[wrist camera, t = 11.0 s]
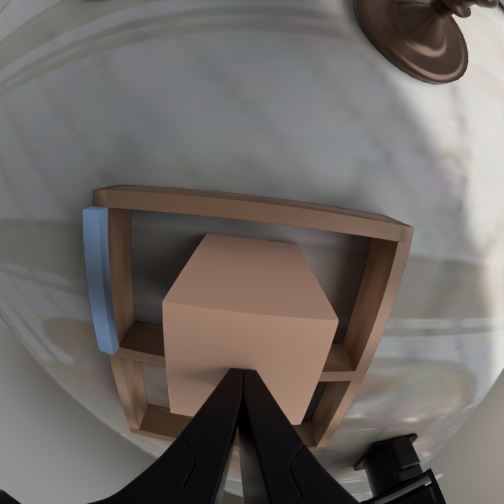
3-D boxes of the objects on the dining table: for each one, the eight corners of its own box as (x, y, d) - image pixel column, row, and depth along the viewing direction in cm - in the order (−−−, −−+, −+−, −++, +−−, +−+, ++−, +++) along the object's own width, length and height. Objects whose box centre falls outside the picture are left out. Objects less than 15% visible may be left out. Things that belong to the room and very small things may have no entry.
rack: (317, 425, 20) (324, 458, 16) (140, 407, 19) (127, 438, 16) (388, 216, 14) (423, 232, 11) (118, 184, 14) (82, 191, 10)
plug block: (282, 321, 16) (300, 424, 9) (201, 312, 16) (170, 412, 9) (297, 244, 15) (339, 320, 7) (206, 233, 15) (162, 301, 7)
